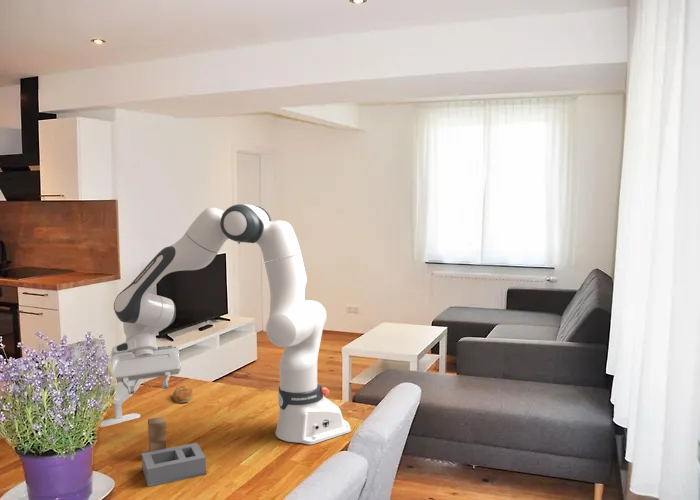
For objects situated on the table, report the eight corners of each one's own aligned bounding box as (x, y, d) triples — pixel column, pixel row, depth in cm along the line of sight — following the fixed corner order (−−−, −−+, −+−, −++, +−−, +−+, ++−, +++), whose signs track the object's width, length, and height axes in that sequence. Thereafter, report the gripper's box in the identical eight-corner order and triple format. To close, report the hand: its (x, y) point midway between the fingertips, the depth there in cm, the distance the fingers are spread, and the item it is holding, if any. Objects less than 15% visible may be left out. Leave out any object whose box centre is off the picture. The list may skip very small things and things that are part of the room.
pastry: (194, 402, 204) (194, 392, 204) (174, 405, 202) (173, 394, 201) (191, 394, 213) (191, 383, 212) (171, 396, 210) (171, 386, 210)
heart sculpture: (95, 428, 182) (92, 371, 180) (90, 423, 186) (87, 367, 184) (145, 415, 192) (143, 361, 190) (139, 411, 196) (137, 358, 194)
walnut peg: (164, 451, 166) (162, 416, 165) (166, 456, 163) (165, 421, 162) (149, 454, 165) (147, 419, 164) (151, 459, 161) (150, 424, 160)
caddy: (197, 458, 162) (196, 442, 161) (206, 474, 153) (205, 457, 152) (142, 469, 155) (141, 453, 155) (148, 486, 146) (147, 469, 146)
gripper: (176, 350, 187) (184, 389, 179) (106, 359, 178) (111, 401, 170) (178, 339, 182) (186, 379, 175) (106, 348, 173) (111, 390, 165)
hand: (148, 390), depth 172 cm, fingers open, 8 cm apart
